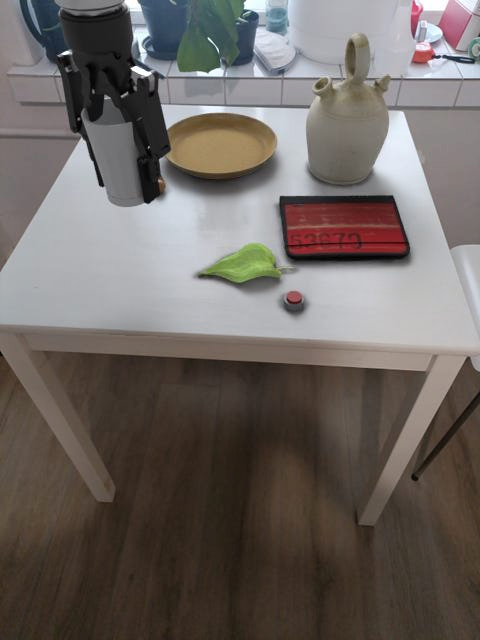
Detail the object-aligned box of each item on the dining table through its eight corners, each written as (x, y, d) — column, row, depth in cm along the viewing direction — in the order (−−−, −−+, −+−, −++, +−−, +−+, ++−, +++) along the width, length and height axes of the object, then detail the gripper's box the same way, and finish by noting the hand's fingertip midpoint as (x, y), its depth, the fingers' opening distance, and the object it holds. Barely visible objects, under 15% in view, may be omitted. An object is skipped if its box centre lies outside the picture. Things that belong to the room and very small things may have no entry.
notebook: (279, 194, 89) (394, 193, 89) (278, 204, 91) (390, 203, 91) (286, 254, 79) (415, 253, 79) (285, 265, 81) (411, 263, 81)
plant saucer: (271, 190, 94) (272, 175, 92) (149, 182, 96) (147, 167, 94) (280, 129, 110) (281, 115, 107) (175, 123, 112) (173, 109, 109)
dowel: (167, 193, 94) (166, 182, 92) (155, 196, 93) (153, 185, 91) (150, 156, 103) (149, 145, 101) (139, 158, 102) (137, 148, 100)
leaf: (296, 285, 77) (297, 275, 75) (197, 287, 77) (196, 278, 75) (291, 248, 83) (292, 239, 81) (198, 250, 82) (197, 241, 81)
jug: (298, 187, 95) (312, 48, 76) (304, 147, 105) (318, 15, 86) (378, 194, 93) (413, 54, 74) (376, 152, 103) (406, 20, 84)
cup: (154, 210, 67) (140, 126, 58) (96, 210, 67) (73, 126, 58) (161, 178, 72) (150, 96, 63) (107, 178, 72) (89, 96, 63)
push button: (284, 310, 73) (285, 303, 72) (282, 296, 75) (283, 289, 74) (304, 309, 73) (305, 303, 72) (302, 295, 75) (303, 288, 74)
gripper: (191, 10, 51) (204, 198, 68) (49, -18, 57) (92, 159, 75) (147, 32, 46) (172, 226, 63) (-2, -1, 53) (57, 182, 70)
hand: (129, 190), depth 69 cm, fingers closed on cup, 7 cm apart
